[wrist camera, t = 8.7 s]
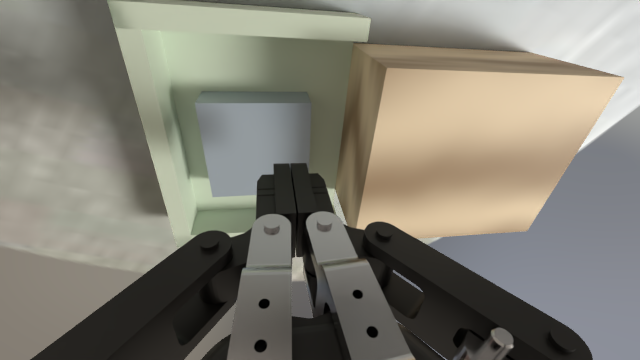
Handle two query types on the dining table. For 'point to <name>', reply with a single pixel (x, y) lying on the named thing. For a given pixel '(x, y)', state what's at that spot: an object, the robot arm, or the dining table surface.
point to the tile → (251, 136)
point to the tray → (229, 89)
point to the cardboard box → (460, 136)
